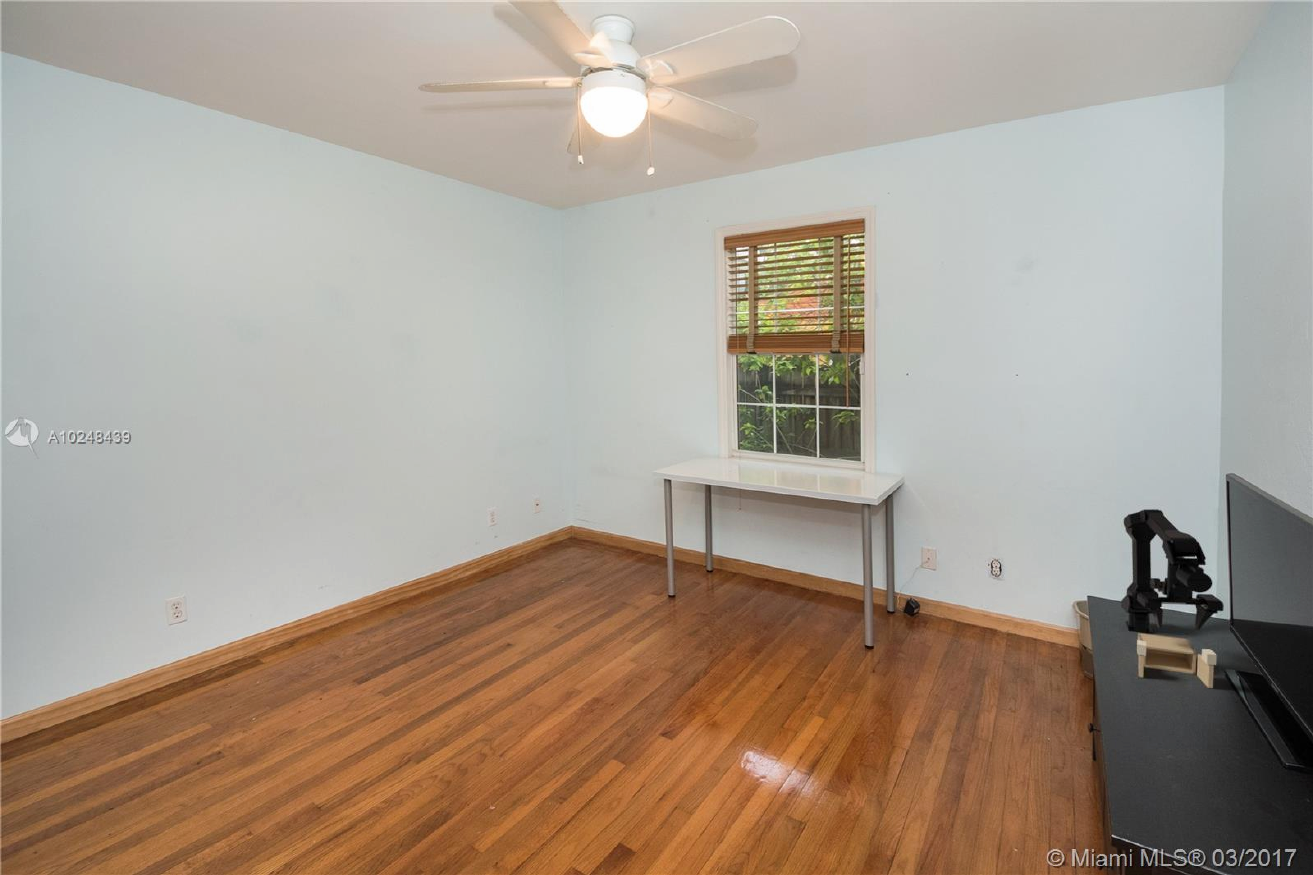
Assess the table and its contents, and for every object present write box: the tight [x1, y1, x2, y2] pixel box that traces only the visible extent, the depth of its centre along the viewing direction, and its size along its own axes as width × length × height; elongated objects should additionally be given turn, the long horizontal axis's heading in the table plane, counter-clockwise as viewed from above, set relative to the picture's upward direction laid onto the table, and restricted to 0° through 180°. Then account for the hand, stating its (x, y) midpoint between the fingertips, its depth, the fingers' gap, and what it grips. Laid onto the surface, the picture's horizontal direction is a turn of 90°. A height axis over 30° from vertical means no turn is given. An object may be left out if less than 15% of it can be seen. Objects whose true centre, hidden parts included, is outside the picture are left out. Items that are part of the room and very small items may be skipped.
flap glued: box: [1136, 639, 1146, 678], centre depth 176 cm, size 2×6×10 cm, turn 142°
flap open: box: [1196, 648, 1217, 689], centre depth 169 cm, size 2×6×10 cm, turn 159°
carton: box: [1137, 632, 1197, 675], centre depth 180 cm, size 9×12×7 cm
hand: (1178, 628), depth 177 cm, fingers open, 9 cm apart
